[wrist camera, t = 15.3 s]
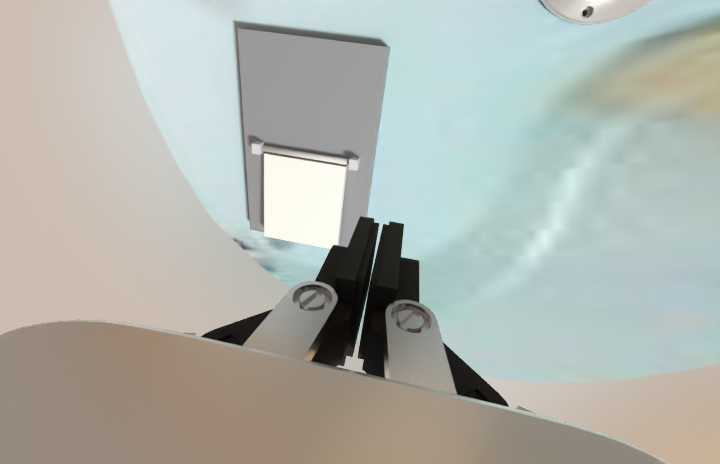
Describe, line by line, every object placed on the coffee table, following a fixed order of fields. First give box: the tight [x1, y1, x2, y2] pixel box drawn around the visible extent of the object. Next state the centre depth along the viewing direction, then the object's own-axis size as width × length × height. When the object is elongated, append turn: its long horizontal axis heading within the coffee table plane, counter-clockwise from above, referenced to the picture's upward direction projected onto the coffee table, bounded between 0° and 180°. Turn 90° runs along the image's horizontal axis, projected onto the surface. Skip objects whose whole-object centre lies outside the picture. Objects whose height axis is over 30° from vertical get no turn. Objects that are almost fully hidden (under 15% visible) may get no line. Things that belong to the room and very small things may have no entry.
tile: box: [264, 152, 347, 249], centre depth 39 cm, size 11×10×1 cm
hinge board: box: [237, 28, 390, 247], centre depth 37 cm, size 24×16×3 cm, turn 173°
